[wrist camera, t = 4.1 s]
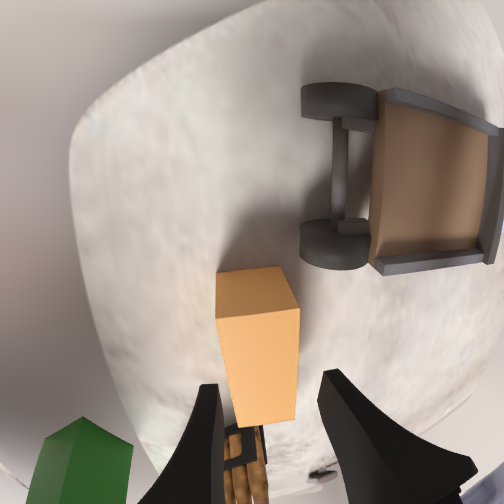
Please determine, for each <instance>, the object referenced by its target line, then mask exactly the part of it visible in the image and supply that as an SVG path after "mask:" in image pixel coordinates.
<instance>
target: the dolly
mask: <svg viewBox="0 0 504 504" xmlns="http://www.w3.org/2000/svg"><path fill="white" fill-rule="evenodd" d="M301 113H302V117H304V118H308V119H315V120H325V121H333V162H332V193H331V212H330V219H323V220H313V221H309V222H306V223H304V224H302V225H301V227H300V249H299V255H300V257H301V258H302V259H303V260H304V261H306V262H307V263H309V264H311V265H314V266H317V267H320V268H324V269H330V270H353V269H358V268H361V267H363V266H365V265H366V264H367V263H369V264H370V265H371V266H372V267H373V268H375V269H376V270H377V271H378V272H379V273H380V274H381V275H382V276H388V275H396V274H404V273H412V272H419V271H426V270H434V269H440V268H447V267H454V266H460V265H466V264H473V263H479V262H483V263H485V264H486V265H489V264H494V261H495V257H496V253H497V249H498V245H499V241H500V236H501V231H502V226H503V221H504V128H498V127H496V126H495V125H493V124H491V123H489V122H487V121H485V120H483V119H480V118H478V117H476V116H474V115H472V114H469V113H467V112H465V111H463V110H460V109H458V108H455V107H453V106H450V105H448V104H445V103H442V102H440V101H437V100H434V99H431V98H428V97H426V96H422V95H419V94H416V93H413V92H410V91H406V90H403V89H399V88H392V89H388V90H384V91H379V92H377V91H375V90H374V89H372V88H369V87H366V86H362V85H357V84H351V83H341V82H323V83H313V84H309V85H305V86H303V87H302V88H301ZM348 130H352V131H361V132H368V133H373V158H372V180H371V195H370V207H369V218H368V220H367V219H365V218H346V219H345V207H346V191H347V169H348Z"/></svg>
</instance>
